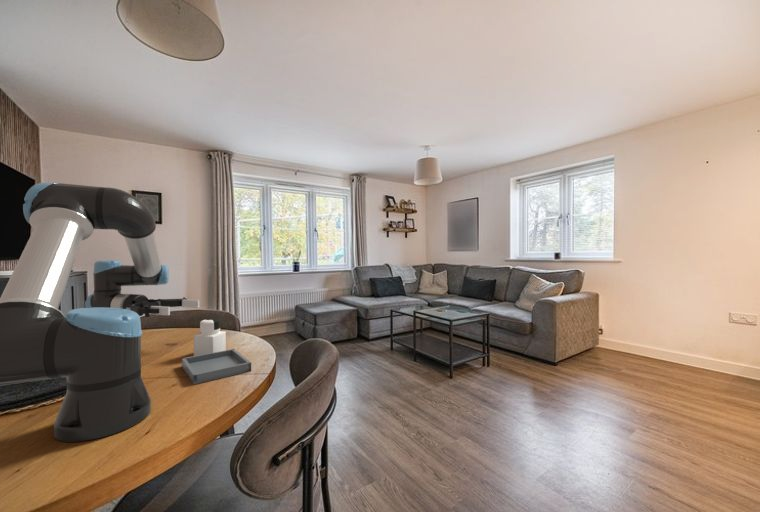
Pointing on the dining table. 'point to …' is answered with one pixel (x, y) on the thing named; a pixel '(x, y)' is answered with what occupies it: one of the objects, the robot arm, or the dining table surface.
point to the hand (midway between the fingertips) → (184, 307)
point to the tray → (215, 365)
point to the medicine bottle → (209, 338)
